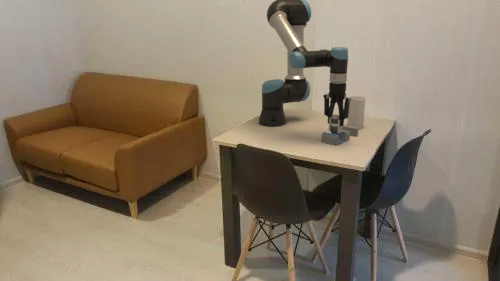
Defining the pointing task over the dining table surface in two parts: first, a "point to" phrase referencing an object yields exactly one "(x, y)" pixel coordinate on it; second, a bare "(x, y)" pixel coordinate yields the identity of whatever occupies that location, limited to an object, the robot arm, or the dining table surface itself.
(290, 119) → the dining table surface
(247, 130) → the dining table surface
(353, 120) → the cup
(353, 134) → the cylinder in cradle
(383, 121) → the dining table surface
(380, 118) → the dining table surface
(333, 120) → the plug
